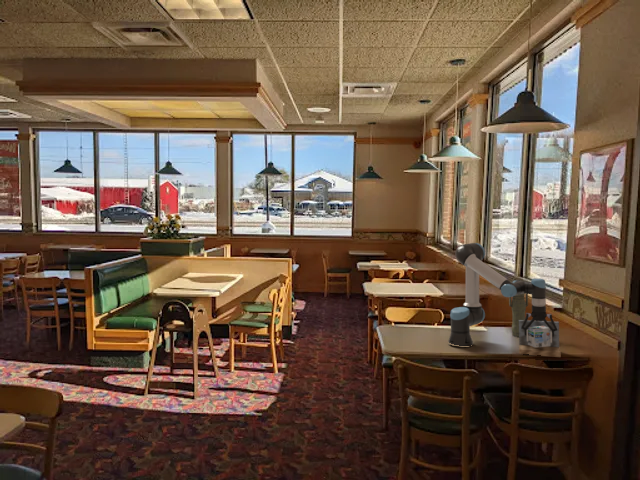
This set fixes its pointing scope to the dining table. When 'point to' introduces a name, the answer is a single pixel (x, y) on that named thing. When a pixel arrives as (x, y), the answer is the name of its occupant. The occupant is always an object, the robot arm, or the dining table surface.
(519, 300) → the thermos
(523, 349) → the wall board
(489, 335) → the dining table surface
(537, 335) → the light bulb box
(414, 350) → the dining table surface
